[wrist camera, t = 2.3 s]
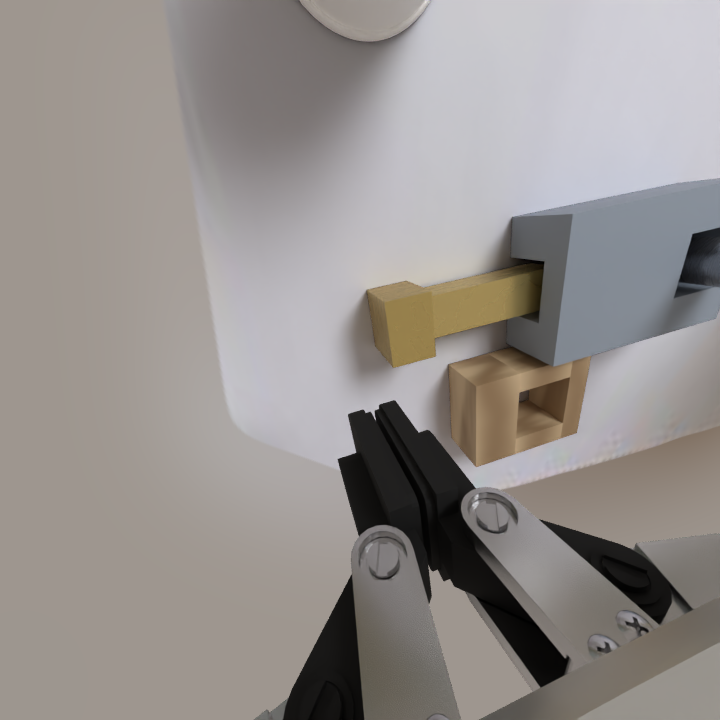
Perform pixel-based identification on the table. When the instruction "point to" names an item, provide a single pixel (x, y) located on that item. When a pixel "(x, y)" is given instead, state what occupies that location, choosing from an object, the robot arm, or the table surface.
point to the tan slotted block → (513, 403)
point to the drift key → (448, 309)
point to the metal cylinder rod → (702, 262)
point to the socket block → (614, 270)
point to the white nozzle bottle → (366, 16)
